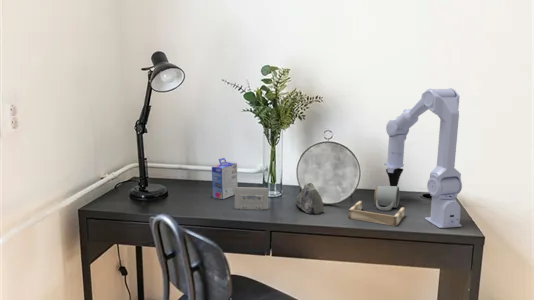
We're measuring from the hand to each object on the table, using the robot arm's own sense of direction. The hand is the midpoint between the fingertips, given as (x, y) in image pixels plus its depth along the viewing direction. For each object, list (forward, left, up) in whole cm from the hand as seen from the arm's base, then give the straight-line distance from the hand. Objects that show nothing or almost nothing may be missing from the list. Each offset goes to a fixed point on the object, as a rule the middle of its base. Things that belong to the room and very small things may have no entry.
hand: (393, 187), depth 189 cm
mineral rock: (-5, +35, -5) cm, 35 cm away
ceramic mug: (-8, +6, -5) cm, 11 cm away
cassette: (-1, +55, -5) cm, 55 cm away
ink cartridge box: (+17, +62, -5) cm, 64 cm away
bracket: (-18, +15, -5) cm, 24 cm away
